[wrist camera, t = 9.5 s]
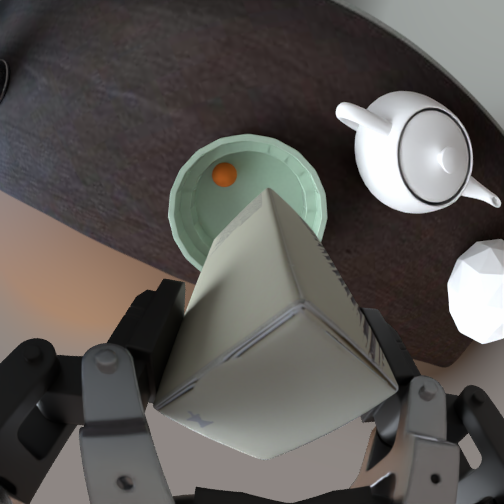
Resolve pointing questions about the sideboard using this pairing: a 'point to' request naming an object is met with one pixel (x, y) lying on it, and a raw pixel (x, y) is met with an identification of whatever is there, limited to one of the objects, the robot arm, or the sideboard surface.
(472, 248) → the geometric shape
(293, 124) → the sideboard surface
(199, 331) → the box
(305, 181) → the bowl
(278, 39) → the sideboard surface
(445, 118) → the teapot
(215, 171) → the ball
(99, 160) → the sideboard surface
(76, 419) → the robot arm
